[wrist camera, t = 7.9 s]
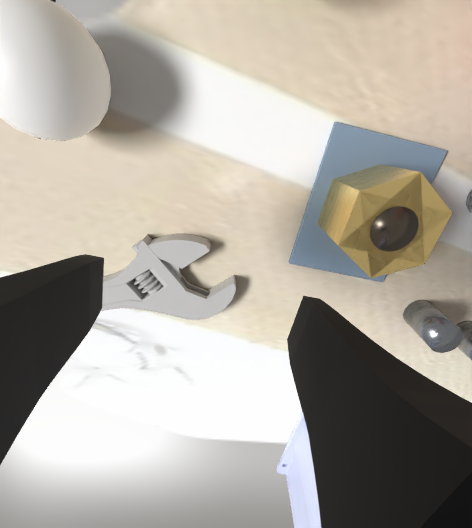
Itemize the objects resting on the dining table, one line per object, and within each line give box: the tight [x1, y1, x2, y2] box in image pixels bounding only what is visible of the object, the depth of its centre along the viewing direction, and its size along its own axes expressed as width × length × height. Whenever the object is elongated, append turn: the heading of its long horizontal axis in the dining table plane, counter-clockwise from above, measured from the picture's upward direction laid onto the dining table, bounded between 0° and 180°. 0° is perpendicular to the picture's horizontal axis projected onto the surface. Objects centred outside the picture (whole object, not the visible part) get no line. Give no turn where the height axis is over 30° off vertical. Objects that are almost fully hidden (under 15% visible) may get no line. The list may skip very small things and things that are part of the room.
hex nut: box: [317, 164, 452, 278], centre depth 16 cm, size 6×5×4 cm
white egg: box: [0, 0, 111, 141], centre depth 13 cm, size 8×6×6 cm
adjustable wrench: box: [101, 234, 236, 320], centre depth 20 cm, size 25×6×2 cm, turn 97°
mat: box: [289, 122, 447, 282], centre depth 18 cm, size 9×7×1 cm
